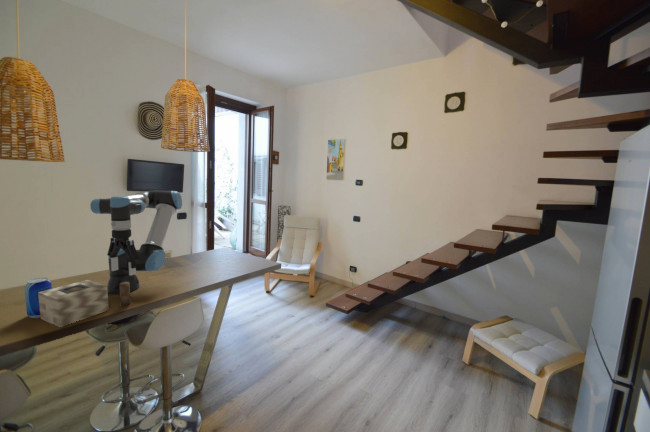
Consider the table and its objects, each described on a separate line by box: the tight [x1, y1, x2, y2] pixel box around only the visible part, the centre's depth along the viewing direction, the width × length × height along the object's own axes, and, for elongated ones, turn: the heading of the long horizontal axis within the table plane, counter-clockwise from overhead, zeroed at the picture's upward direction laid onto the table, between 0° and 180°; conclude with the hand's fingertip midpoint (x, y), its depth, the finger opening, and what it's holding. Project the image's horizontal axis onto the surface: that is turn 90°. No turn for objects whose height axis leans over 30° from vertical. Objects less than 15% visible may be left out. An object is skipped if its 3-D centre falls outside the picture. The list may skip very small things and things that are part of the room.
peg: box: [119, 282, 132, 308], centre depth 138 cm, size 4×4×11 cm
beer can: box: [23, 277, 53, 319], centre depth 125 cm, size 8×8×16 cm
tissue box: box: [38, 279, 110, 328], centre depth 127 cm, size 18×16×12 cm
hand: (123, 272), depth 136 cm, fingers open, 13 cm apart
